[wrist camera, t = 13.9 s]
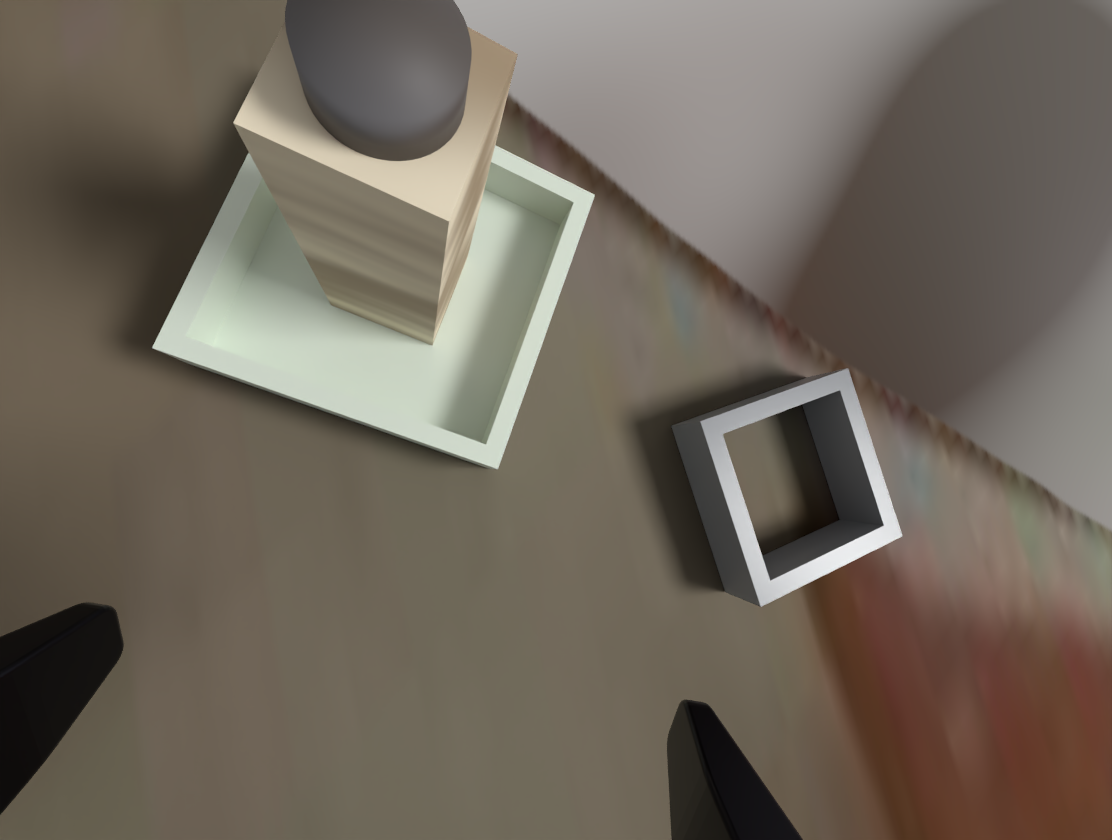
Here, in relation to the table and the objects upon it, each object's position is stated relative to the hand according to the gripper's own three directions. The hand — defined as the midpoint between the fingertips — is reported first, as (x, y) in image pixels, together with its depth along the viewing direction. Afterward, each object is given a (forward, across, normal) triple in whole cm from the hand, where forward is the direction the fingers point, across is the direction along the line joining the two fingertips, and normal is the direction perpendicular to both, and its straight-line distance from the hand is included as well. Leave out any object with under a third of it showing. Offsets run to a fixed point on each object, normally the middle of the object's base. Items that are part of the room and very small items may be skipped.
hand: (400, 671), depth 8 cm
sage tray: (+15, +5, -3) cm, 16 cm away
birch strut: (+15, +5, -3) cm, 16 cm away
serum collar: (+16, -12, +3) cm, 21 cm away
